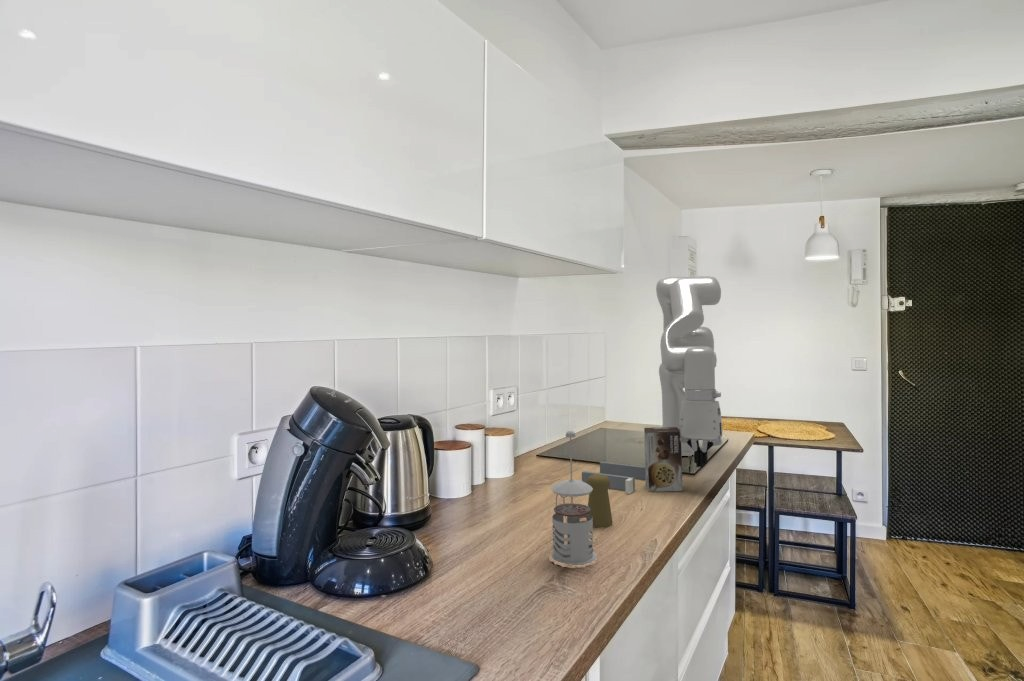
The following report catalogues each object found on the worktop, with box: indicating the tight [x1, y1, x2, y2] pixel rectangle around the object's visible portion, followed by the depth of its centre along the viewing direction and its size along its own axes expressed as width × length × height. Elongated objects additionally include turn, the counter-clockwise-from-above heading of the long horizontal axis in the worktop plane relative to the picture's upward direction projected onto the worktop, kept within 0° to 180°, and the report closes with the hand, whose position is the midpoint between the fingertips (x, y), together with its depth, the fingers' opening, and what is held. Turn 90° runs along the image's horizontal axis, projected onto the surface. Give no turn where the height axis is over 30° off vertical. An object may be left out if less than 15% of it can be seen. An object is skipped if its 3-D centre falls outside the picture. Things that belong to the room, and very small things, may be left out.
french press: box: [550, 430, 597, 565], centre depth 118 cm, size 10×12×25 cm
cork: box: [585, 474, 614, 528], centre depth 137 cm, size 6×6×11 cm
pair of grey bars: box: [581, 461, 646, 495], centre depth 170 cm, size 18×15×4 cm
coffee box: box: [644, 426, 684, 492], centre depth 162 cm, size 9×6×16 cm
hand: (701, 466), depth 156 cm, fingers closed
